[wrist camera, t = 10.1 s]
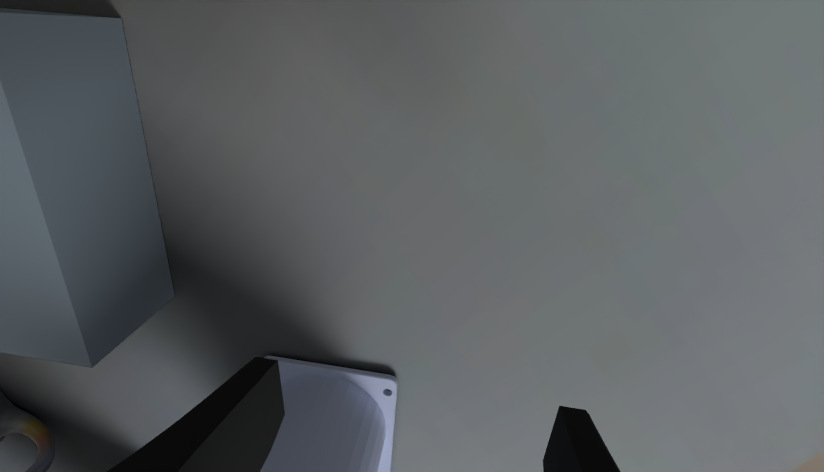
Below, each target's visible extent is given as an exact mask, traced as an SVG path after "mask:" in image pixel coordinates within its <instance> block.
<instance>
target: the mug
mask: <svg viewBox="0 0 824 472" xmlns="http://www.w3.org/2000/svg"><path fill="white" fill-rule="evenodd" d="M12 433H17V434H21V435H24V436H26V437H28V438H29V439H31V440H32V441H33V442H34V443H35V445H36V446H37V456H36V461H35V463H34V464H33V465H32V466H31V467H30V468H29V469H28V470H27V471H26V472H46V471H47V470H48V469H49V467H50V465H51V463H52V461H53V459H54V455H55V441H54V437H53V435H52V433H51V431H50V430H49V428H48V427H47V426H46V425H45V424H44V423H43V422H41V421H40V420H39V419H37V418H36V417H34V416H33V415H31V414H29V413H28V412H26V411H24V410H22V409H20V408H18V407H16V406H14V405H13V404H12V403H11V402H10V401H9V400H8V399H7V398H6V397H5V395H4V394H3V393H2V392H1V391H0V441H2V440H3V439H4V437H5V436H6V435H9V434H12Z"/></svg>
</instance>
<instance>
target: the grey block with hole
mask: <svg viewBox="0 0 824 472" xmlns="http://www.w3.org/2000/svg"><path fill="white" fill-rule="evenodd" d="M173 297H175V295H174V289H173V284H172V279H171V274H170V269H169V263H168V258H167V253H166V248H165V243H164V238H163V232H162V227H161V222H160V217H159V212H158V206H157V201H156V196H155V191H154V186H153V180H152V175H151V170H150V165H149V160H148V155H147V149H146V144H145V139H144V134H143V129H142V123H141V118H140V113H139V108H138V103H137V97H136V92H135V87H134V82H133V77H132V71H131V66H130V61H129V56H128V51H127V46H126V40H125V35H124V30H123V25H122V20H121V18H113V17H101V16H90V15H78V14H66V13H55V12H43V11H32V10H20V9H9V8H0V352H2V353H8V354H13V355H19V356H25V357H31V358H37V359H43V360H49V361H55V362H61V363H67V364H73V365H79V366H85V367H91V368H92V367H93V366H95V365H96V364H97V363H98V362H99V361H100V360H102V359H103V358H104V357H105V356H106V355H107V354H109V353H110V352H111V351H112V350H113V349H114V348H115V347H117V346H118V345H119V344H120V343H121V342H122V341H124V340H125V339H126V338H127V337H128V336H129V335H131V334H132V333H133V332H134V331H135V330H136V329H137V328H139V327H140V326H141V325H142V324H143V323H144V322H146V321H147V320H148V319H149V318H150V317H151V316H153V315H154V314H155V313H156V312H157V311H158V310H159V309H161V308H162V307H163V306H164V305H165V304H166V303H168V302H169V301H170V300H171V299H172V298H173Z"/></svg>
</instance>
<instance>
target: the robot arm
mask: <svg viewBox="0 0 824 472" xmlns="http://www.w3.org/2000/svg"><path fill="white" fill-rule="evenodd" d="M397 388H398V380H397V379H396V377H394V376H392V375H388V374H382V373H376V372H370V371H363V370H357V369H351V368H344V367H338V366H332V365H326V364H319V363H313V362H307V361H300V360H294V359H288V358H281V357H275V356H265V357H264V358H261V357H255V358H254V359H252V360H251V361H250V362H249V363H248V364H246V365H245V366H244V367H243V368H242V369H240V370H239V371H238V372H237V373H236V374H234V375H233V376H232V377H231V378H230V379H228V380H227V381H226V382H225V383H224V384H223V385H221V386H220V387H219V388H218V389H217V390H215V391H214V392H213V393H212V394H210V395H209V396H208V397H207V398H206V399H204V400H203V401H202V402H201V403H199V404H198V405H197V406H196V407H194V408H193V409H192V410H191V411H189V412H188V413H187V414H186V415H184V416H183V417H182V418H181V419H179V420H178V421H177V422H175V423H174V424H173V425H172V426H170V427H169V428H168V429H166V430H165V431H163V432H162V433H161V434H159V435H158V436H157V437H155V438H154V439H153V440H151V441H150V442H149V443H147V444H146V445H145V446H143V447H142V448H141V449H139V450H138V451H136V452H135V453H133V454H132V455H131V456H129V457H128V458H126V459H125V460H123V461H122V462H120V463H119V464H117V465H116V466H115V467H113V468H112V469H110V470H108V471H107V472H391V462H392V450H393V437H394V425H395V413H396V400H397ZM386 389H389V390H391V391H388V390H386ZM543 467H544V472H620V470H619V468H618V467H617V465H616V463H615V461H614V460H613V458H612V456H611V454H610V453H609V451H608V449H607V447H606V445H605V444H604V442H603V440H602V438H601V436H600V434H599V432H598V431H597V429H596V427H595V425H594V423H593V421H592V419H591V417H590V415H589V414H588V412H587V411H586V410H582V409H576V408H569V407H563V406H559V409H558V413H557V416H556V419H555V423H554V426H553V429H552V432H551V436H550V439H549V442H548V446H547V449H546V452H545V455H544V459H543Z"/></svg>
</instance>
